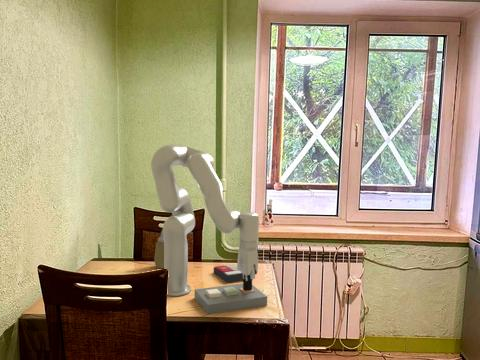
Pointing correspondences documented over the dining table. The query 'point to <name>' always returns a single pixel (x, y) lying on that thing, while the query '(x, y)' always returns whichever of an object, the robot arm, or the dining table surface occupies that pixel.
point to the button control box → (229, 273)
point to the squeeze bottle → (159, 252)
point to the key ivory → (213, 293)
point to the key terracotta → (246, 291)
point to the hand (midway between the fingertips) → (247, 289)
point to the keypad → (229, 299)
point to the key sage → (230, 291)
